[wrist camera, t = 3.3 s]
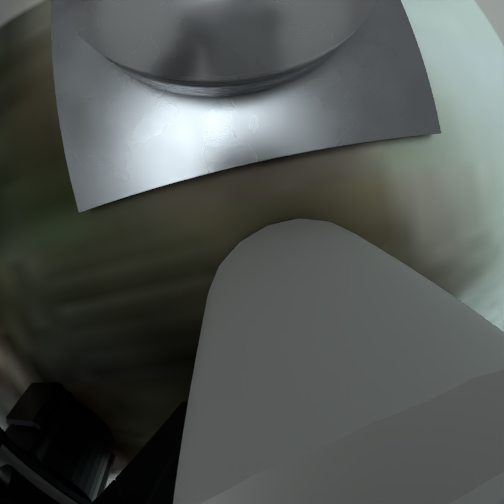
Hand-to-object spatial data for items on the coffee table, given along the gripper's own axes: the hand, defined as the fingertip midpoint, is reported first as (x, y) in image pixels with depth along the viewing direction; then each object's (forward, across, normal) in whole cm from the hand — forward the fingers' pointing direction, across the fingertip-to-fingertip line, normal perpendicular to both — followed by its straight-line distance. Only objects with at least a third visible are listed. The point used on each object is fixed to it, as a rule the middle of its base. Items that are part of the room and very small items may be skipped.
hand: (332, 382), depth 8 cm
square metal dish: (+6, 0, -14) cm, 15 cm away
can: (+6, 0, 0) cm, 6 cm away
